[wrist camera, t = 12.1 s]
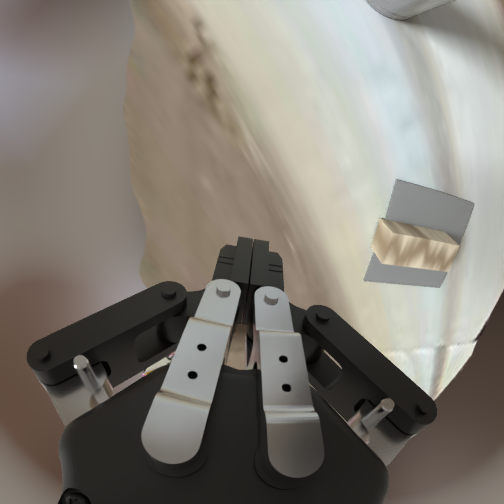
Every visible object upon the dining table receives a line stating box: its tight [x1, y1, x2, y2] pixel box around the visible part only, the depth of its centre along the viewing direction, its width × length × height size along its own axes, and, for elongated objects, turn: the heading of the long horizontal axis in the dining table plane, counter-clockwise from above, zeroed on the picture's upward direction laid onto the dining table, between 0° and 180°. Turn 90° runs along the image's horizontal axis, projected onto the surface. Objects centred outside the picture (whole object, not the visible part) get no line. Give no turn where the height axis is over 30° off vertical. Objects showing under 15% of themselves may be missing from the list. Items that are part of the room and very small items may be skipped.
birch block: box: [371, 219, 460, 272], centre depth 39 cm, size 5×5×14 cm
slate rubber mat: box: [364, 179, 474, 288], centre depth 41 cm, size 18×18×1 cm
